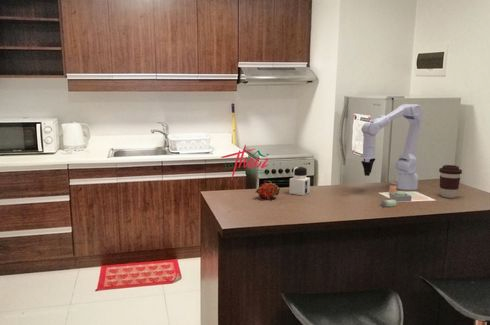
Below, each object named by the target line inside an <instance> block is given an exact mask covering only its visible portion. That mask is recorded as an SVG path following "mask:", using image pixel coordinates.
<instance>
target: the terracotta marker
mask: <svg viewBox="0 0 490 325" xmlns="http://www.w3.org/2000/svg"><path fill="white" fill-rule="evenodd" d="M397 184H398V182H397V181H390V182H389V190H388V192H389V195H390V193H396V191H397V190H398V188H397Z"/></svg>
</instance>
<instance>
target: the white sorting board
mask: <svg viewBox="0 0 490 325" xmlns="http://www.w3.org/2000/svg"><path fill="white" fill-rule="evenodd" d="M404 192H405V196H398V195H396V193H390V195H389V191H387V192H379V194H380V195H382V196H384V197H386V198H388V200H396V202H397V203H407V202H430V201H432V202H434V201H437V200H436V199H435V198H433V197H429V196H427V195H425V194H422V193H420V192H418V191H416V190H415V191H414V190H413V191H412V190H409V191H404Z"/></svg>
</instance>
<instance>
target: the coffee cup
mask: <svg viewBox="0 0 490 325" xmlns="http://www.w3.org/2000/svg"><path fill="white" fill-rule="evenodd" d="M438 172H439V174H440V175H439V192H440V193H439V194H440V197H442V198H446V199H447V198H449V199H455V198H457V197H458V196H457V195H458V190H459V188H460V182H461V181H460V180H461V175H462V174H463V169H460V167H459V166H458V165H453V164H444V165H442V167H439V169H438Z"/></svg>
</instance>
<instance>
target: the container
mask: <svg viewBox="0 0 490 325" xmlns="http://www.w3.org/2000/svg"><path fill="white" fill-rule="evenodd" d="M292 171H293V175H292V176H293V177H291V178H289V190H288V192H289V194H290V195H295V196H296V195H297V196H306V195H307V194H309V193H310V191H311V190H310V189H311V178H310V177H307V176H308V175H307V174H308V173H307V172H308V171H307V167H304V166H295V167H294V168H293V170H292Z"/></svg>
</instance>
